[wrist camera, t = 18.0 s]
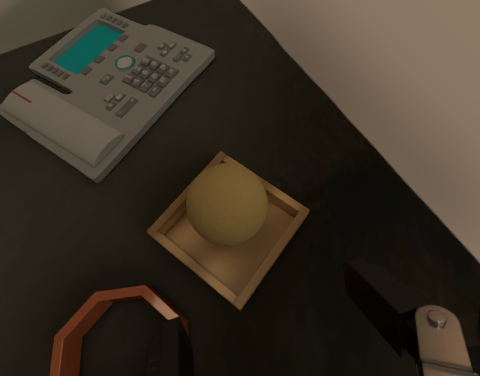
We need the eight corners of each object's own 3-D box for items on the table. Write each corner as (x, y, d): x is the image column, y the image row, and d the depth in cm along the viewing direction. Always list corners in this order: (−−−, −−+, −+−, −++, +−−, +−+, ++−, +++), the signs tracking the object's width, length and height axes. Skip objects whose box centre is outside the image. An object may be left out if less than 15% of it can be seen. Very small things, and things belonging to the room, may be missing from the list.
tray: (154, 239, 29) (145, 231, 26) (222, 163, 32) (220, 150, 30) (240, 311, 26) (240, 310, 23) (304, 219, 29) (310, 210, 27)
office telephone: (88, 175, 29) (-33, 98, 34) (100, 186, 32) (-14, 112, 36) (213, 41, 37) (102, -7, 42) (215, 57, 39) (110, 10, 44)
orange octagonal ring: (46, 365, 24) (21, 371, 21) (133, 268, 28) (121, 263, 25) (128, 460, 21) (111, 481, 19) (213, 340, 25) (209, 343, 22)
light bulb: (187, 221, 29) (161, 178, 20) (238, 189, 30) (236, 134, 21) (221, 274, 27) (210, 252, 18) (275, 236, 28) (290, 198, 19)
